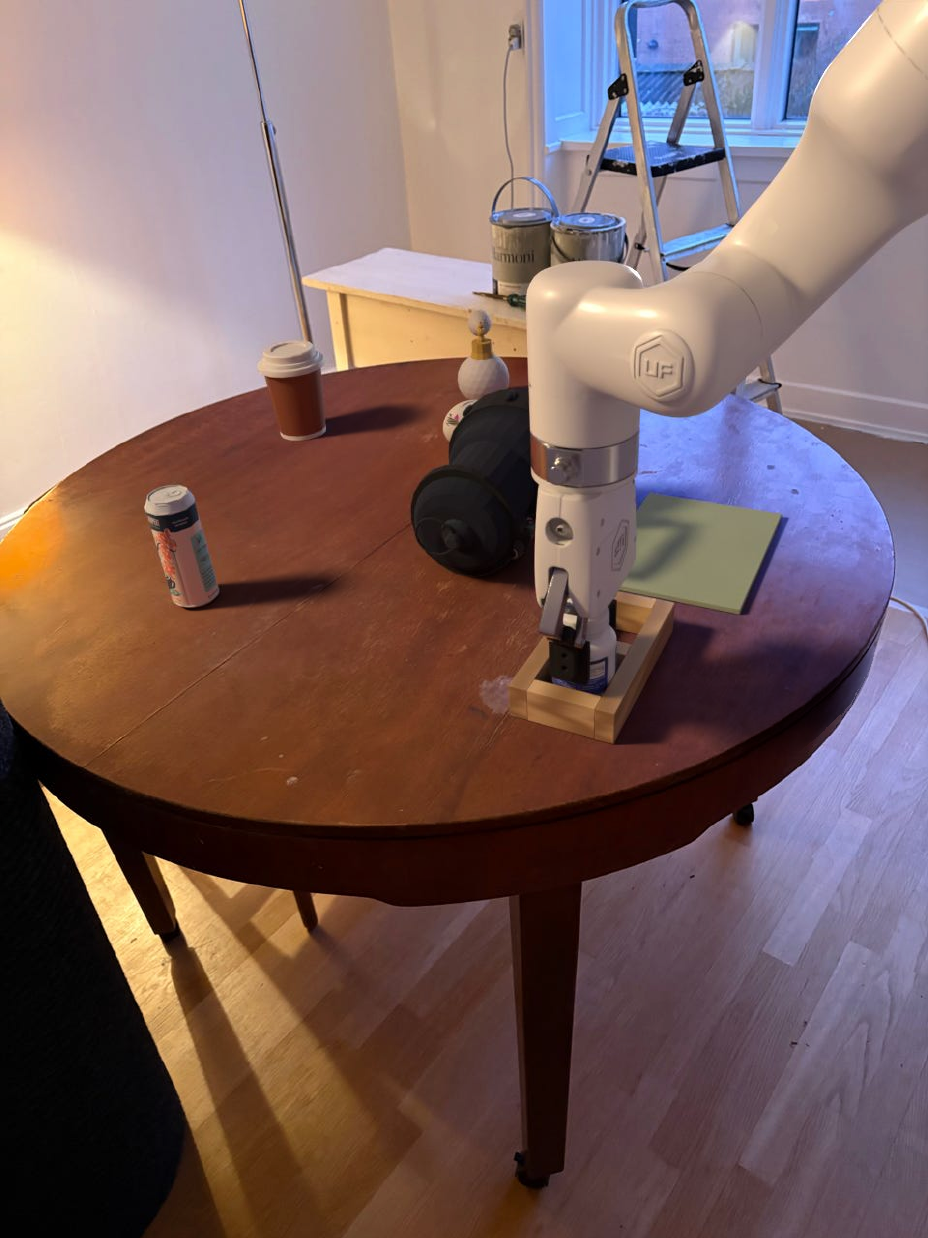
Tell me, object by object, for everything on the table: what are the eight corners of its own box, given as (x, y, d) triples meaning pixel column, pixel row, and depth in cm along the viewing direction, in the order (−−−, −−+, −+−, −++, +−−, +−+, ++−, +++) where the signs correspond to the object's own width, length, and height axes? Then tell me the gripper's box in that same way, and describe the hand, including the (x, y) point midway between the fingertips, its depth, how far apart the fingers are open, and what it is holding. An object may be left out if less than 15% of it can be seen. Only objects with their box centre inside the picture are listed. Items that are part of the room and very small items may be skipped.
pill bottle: (568, 670, 78) (568, 585, 73) (624, 687, 76) (628, 600, 70) (540, 705, 74) (538, 618, 69) (598, 724, 72) (601, 635, 67)
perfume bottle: (472, 414, 128) (467, 330, 121) (445, 394, 135) (438, 314, 128) (519, 403, 130) (516, 320, 123) (489, 383, 137) (485, 304, 130)
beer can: (172, 591, 93) (141, 488, 86) (218, 581, 94) (191, 479, 87) (174, 615, 90) (141, 509, 83) (222, 605, 90) (193, 499, 84)
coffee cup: (341, 418, 130) (328, 336, 123) (327, 444, 122) (312, 358, 115) (281, 419, 131) (265, 338, 124) (263, 445, 123) (245, 360, 117)
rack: (672, 631, 82) (675, 602, 80) (613, 744, 70) (614, 713, 68) (580, 611, 85) (580, 583, 84) (509, 715, 74) (508, 685, 72)
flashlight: (466, 491, 107) (631, 507, 101) (399, 595, 92) (588, 621, 86) (453, 377, 98) (633, 386, 92) (376, 471, 83) (585, 490, 77)
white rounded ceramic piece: (464, 466, 113) (460, 417, 110) (434, 453, 117) (430, 405, 114) (510, 447, 117) (508, 398, 114) (480, 435, 121) (477, 387, 118)
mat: (781, 518, 97) (782, 513, 97) (739, 615, 83) (740, 609, 83) (648, 497, 104) (648, 492, 103) (588, 583, 89) (588, 578, 89)
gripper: (592, 515, 55) (590, 735, 65) (671, 412, 67) (659, 611, 77) (482, 497, 58) (497, 710, 68) (577, 402, 70) (578, 595, 80)
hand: (583, 655), depth 72 cm, fingers closed on pill bottle, 5 cm apart
